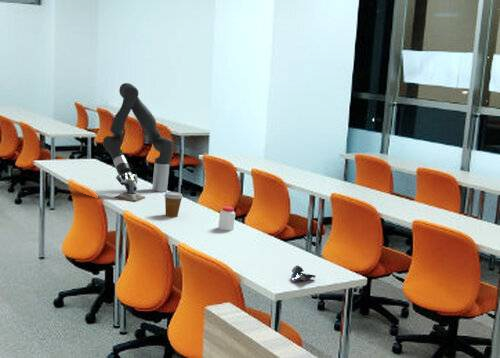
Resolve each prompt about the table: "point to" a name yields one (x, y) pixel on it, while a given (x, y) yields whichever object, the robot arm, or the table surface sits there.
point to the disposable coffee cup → (172, 203)
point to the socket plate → (130, 196)
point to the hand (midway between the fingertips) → (132, 190)
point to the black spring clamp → (302, 277)
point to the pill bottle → (226, 218)
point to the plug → (131, 186)
